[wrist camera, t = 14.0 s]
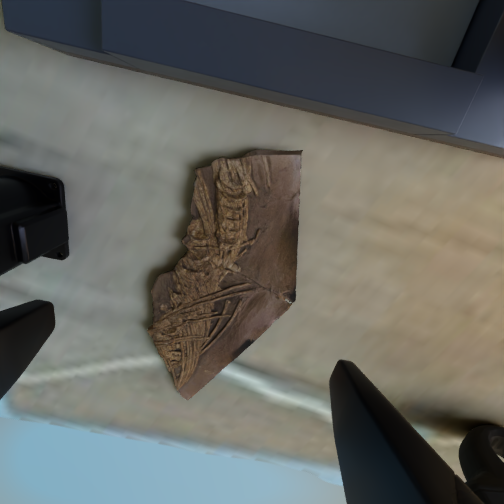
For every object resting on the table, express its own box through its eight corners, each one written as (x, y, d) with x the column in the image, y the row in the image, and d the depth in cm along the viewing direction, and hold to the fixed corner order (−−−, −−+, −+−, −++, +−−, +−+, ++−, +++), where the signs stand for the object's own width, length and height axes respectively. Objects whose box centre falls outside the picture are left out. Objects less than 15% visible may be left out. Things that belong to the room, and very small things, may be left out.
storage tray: (68, 55, 17) (-17, 22, 12) (56, -168, 13) (-76, -357, 8) (519, 161, 18) (618, 173, 13) (622, -14, 14) (816, -93, 9)
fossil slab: (217, 110, 17) (215, 108, 16) (364, 184, 19) (370, 187, 18) (123, 372, 27) (118, 381, 26) (224, 408, 29) (222, 417, 28)
